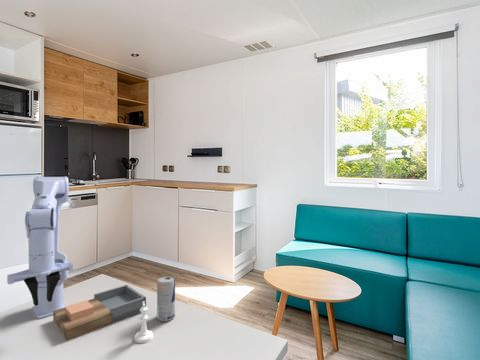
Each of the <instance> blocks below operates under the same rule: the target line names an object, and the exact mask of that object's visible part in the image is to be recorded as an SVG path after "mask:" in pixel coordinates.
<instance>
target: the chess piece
mask: <svg viewBox="0 0 480 360" xmlns="http://www.w3.org/2000/svg"><path fill="white" fill-rule="evenodd" d="M142 305H143V307H142V308H140V312H141V313H140V316H139V320H141V327H140V331H137V332H136V334H134V338H133V341H134V342H135V343H137V344H145V343H148V342H150V341H151V340H152V339H153V338H154V332H153V331H152V330H148V327H147V321H146V320H147V319H148V318H149V315H147V312H148V311H149V310H148V306H146V307H145V301H143V303H142Z"/></svg>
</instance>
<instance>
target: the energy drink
mask: <svg viewBox="0 0 480 360" xmlns="http://www.w3.org/2000/svg"><path fill="white" fill-rule="evenodd" d="M156 288H157V289H156V300H157V301H156V304H157V305H156V317H157V320H158V321H160V322H169V321H171V320H173V319H174V318H175V316H176V279H175V277H174V276H169V275H167V276H166V275H164V276H161V277H159V278H158V279H157V282H156Z"/></svg>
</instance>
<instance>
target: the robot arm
mask: <svg viewBox="0 0 480 360" xmlns="http://www.w3.org/2000/svg"><path fill="white" fill-rule="evenodd" d="M32 182H33V183H32V190H33V193H34V199H33V203H32V205H31V209H29V211H25V216H24V217H25V218H24V225H25V231H26V238H27V240H28V243H27V244H28V269H24V270H22V271H19V272H15V273H10V274H7V275H6V280H7V281H6V282H7V284H8V285H12V284H14V283H18V282H22V281H23V282H24V283H25V285H26V286H27V288H28V290H29V293H30V295H31V299H32V301H33V302H32V303H33V306H32V307H31V309H32V311H33V312H34V314H35V315H36V317H37V319H42V318H45V317H48V316H53V311H55V310H58V309H62V308H65V307H66V306H67V305H66V304H65V301H64V281H66V280H67V279H68V275H69V272H71V271H74V263H73V262H71V261H70V262H68V261H69V260H68V259H69V258H68V256H67V255H66V254H65V253H63V252H61V251H59V245H60V244H59V243H60V214H61V213H60V212H61V209H62V206H63V204H65V203H67V202H68V199H69V192H70V188H69V185H70V184H69V177H68V176H66V175H65V176H35V177H34V178H33V180H32Z"/></svg>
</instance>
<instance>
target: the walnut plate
mask: <svg viewBox="0 0 480 360" xmlns="http://www.w3.org/2000/svg"><path fill="white" fill-rule="evenodd" d="M87 301H88V302H89V303H90V304H91V305H92V306H93V307H94V314H91V315H88V316H85V317H82V318H79V319H76V320H73V321H70V319H69V318H68V317H67V316H66V314H65V308H62V309H58V310H55V311H53V314H52V316H53V319H52V320H53V322H54V324H55V326H56V327H57V328H58V330H59V331H60V332H61V333H62V335H63V336H64V338H65V340H66V341H67V342H68V341H71V340H73V339H75V338H78V337H81V336H83V335H86V334H89V333H91V332H93V331H97V330H99V329H102V328H105V327H107V326H110V325H113V324H114V323H111V322H113V319H111V318H113V316H112V315H113V314H112V315H111V313H110V310H108V309H107V308H106V307H105V306H104V305H103V304H102V303H101V302H99V301H98V300H97V299H94V298H91V299H88V300H87ZM111 316H112V317H111ZM111 320H112V321H111Z"/></svg>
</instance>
